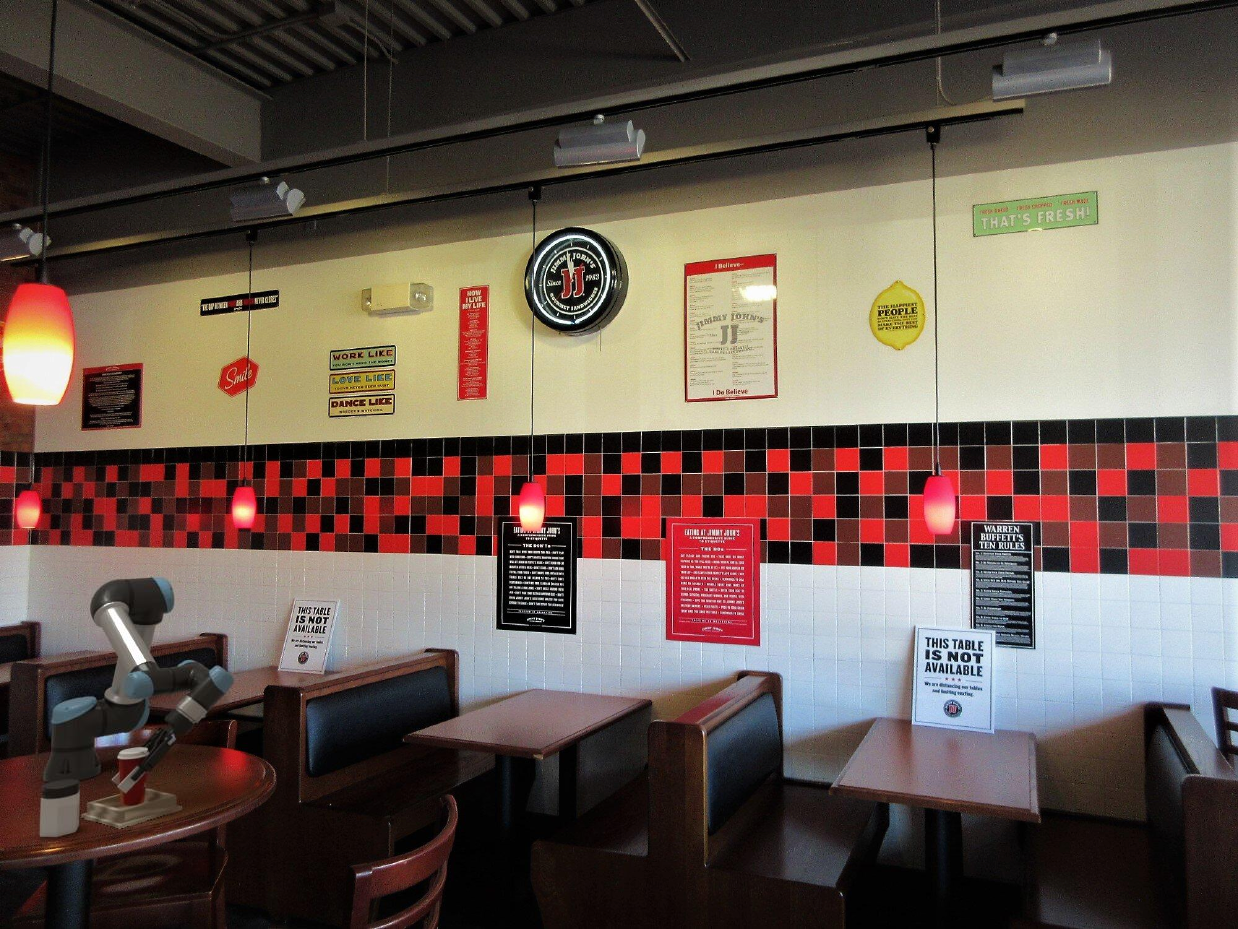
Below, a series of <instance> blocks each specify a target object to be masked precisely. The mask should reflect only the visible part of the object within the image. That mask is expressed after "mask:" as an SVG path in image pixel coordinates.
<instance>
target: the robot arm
mask: <svg viewBox="0 0 1238 929" xmlns="http://www.w3.org/2000/svg"><path fill="white" fill-rule="evenodd" d="M89 606H90V607H89V612H90V616H91V619H92V621H93V622H94V625H96V626H97V627H99V628H101V629H102V631H103V632H104V634H105V636H106V637H107V640H108V642H109V643H110V645H111V647H112V648H113V651H114V652H115V654H116V656H117V662H116V665H115V670H114V675H113V679H112V683H111V687H109V688H107V689H106V690H105V691H104V696H103V698H102V699H99V700H97V698H96V697H95V696H83V697H75V698H72V699H68V700H64V701H63V702H60V703H58V704H57V705H56V706H55V707H54V708H53V709H52V717H51V721H50V723H51V739H50V740H51V747H50V750H51V751H50V756H49V758H48V761H47V763H46V767H45V769H44V771H43V781H44V782H46V783H50V782H54V781H59V780H68V779H74V780H78V781H79V782H80V781H83V780H87V779H91V778H94V777H97V776H98V775H99V774H101V770H102V768H101V766H102V765H101V762H100V759H99V756H98V754H97V751H96V739H97V738H102V737H108V736H115V735H119V734H123V733H124V734H127V733H131V732H133V731H138V730H140V729H142V727H144V725H145V724H146V723H147V721H148V718H149V714H150V710H151V709H150V700H149V698H155V697H161V696H167V695H174V694H179V693H186V692H189V693H188V694H186V695H185V696H184V697H183V699H181V701H179V702H178V703H177V704H176V706H175V707H176V709H175V708H174V709H172V710H171V711H169V713H168V714H167V715H166V716H165V717H164V721H165V722H166V723H168V724H167V725H166V726H164V727H161V726H160V727H158V728H157V729H156V731H155V732H154V733H152V734H151V736H149V737H148V738H147V739H146V740H145V742H143V743H142V745H140V746H139V747H144V748H148V752H149V754H148V755H147V756H146V758H145V759H144V760H143V762H142V763H141V764H140V763H138V764H137V767H136V768H135V769H134V770H133V771H132V772H131V773H130V774H129V775H128V776H127V777H126V778H125V779H124V780H123V781H122V782H121V783H120V779H119V772H118V773H117V774H116V775H115V776H113V777H112V779H111V781H112V782H113V783H114V784H116V785H117V788H118V790H120V789H121V790H122V791H123V792H125V793H127V792H128V791H129V789H130V788H131V787H132V786H133V785H134V784H135V783H136V782H137V781H138V780H139V779H140V778H141V777H142V776H143V775H144V773H145V772H147V773H148V772H151V771H153V769H154V768H155V767H156V766H157V765H158V763H159V762H160V761H161V760H162V759H163V758H164V757H165V755H166V754H167V753H168V752H169V751H170V749H171V748H172V747H174V745H175V744H177V743H178V741H179V739H177V737H178V736H179V734H182V736H186V735H188V733H189V734H190V731H191V730H192V729H193V728H195V723H197V724H198V723H199V722H200V721H201V719H204V718H206V715H207V713H208V712H209V711H210V710H211V709H212V708H213V707H214V706H215V705H216V704H217V703H218V702H219V701H220V700H221V699H222V698H223V697H224V695H226V694H227V693H228V691H229V690H230V689H231V688H232V687H233V685H234V684H235V682H236V681H235V678H234V676H232V675H231V673H229V672H228V671H227V670H226V669H224V668H223V667H222V666H220V665H215V666H214V667H212V668H211V669H209V668H208V667H205V665H203V664H202V663H200V662H198V661H195V660H192V659H187V660H184V661H182V662H180V663H179V664H178V665H177V666H172V667H163V668H160V667H159V665H158V664H157V662H156V661H155V659H154V657H153V656H152V654H151V648H152V644H153V640H154V635H155V630H156V626H157V625H159V624H161V623H162V622H163V620H164V614H169V613H171V612H172V611H173V609H174V607H175V593H174V590H173V586H172V584H171V582H170V581H169V580H168V579H167V578H165V577H153V576H150V577H141V578H139V577H138V578H120V579H119V578H118V579H113V580H110V581H107V582H106V583H104V584H102V585H100V587H99V588H98V589H97V590H96V591H95V592H94V594H93V595H92V597H91V601H90V604H89ZM139 767H140V768H139Z"/></svg>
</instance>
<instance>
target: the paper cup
mask: <svg viewBox="0 0 1238 929" xmlns="http://www.w3.org/2000/svg"><path fill="white" fill-rule="evenodd" d="M148 754H149V752H148V748H144V747H140V746H139V747H130V748H127V749H122V750H121V751H120V752H119V753H118V755H117V759H118V773H119V779H120V783H121V782H122V781H123V780H124V779H125V778H126V777H127V776H128V775H129V774H130V773H131V772H132V771H133V770H134V769H135V768H136V767H137V764H138V763H140V764H141V763H142V762H143V760H144V759H145V758H146V756H147V755H148ZM139 768H140V767H139ZM147 774H148V771H147V772H145V773H144V775H143V776H142V777H141V778H140V779H139V780H138V781H137V782H136V783H135V784H134V785H133V786H132V787H131V788H130V789H129V791H128V792H127V793H125V792H123V791H122V790H121V789H119V794H120V800H121V806H135V805H139V804H142V803H144V800H145V790H146V788H147V779H148V778H147V776H148V775H147Z"/></svg>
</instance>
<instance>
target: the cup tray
mask: <svg viewBox="0 0 1238 929" xmlns="http://www.w3.org/2000/svg"><path fill="white" fill-rule="evenodd" d="M177 796H178V795H176V794H173V793H172V794H171V793H169V792H164V791H160V790H156V789H153V788H152V789H151V788H148V787H146V790H145V800H144V803H142V804H139V805H135V806H121V800H120V793H118V794H115V795H111V796H108V797H104V798H100V799H95V800H93V801H90V802H87V804H86V807H87V808H86V811H87V812H85V813H82V814H81V815H80V816H81V817H80V818H81V819H82V818H84V819H83V820H85V821H89V820H90V822H92V821H93V822H94V823H96V822H98V823H97V824H99V823H102V824H101V825H103V824H105V825H104V826H106V825H109V826H108V827H110V826H113V827H115V828H114V829H116V828H118V830H122V829H121V828H123V829H126V828H128V827H127V826H129V827H132V826H135V825H139V824H141V822H142V823H146V822H148V821H147V820H149V821H151V820H150V819H152V820H154V819H153V818H155V819H157V818H156V817H159V818H161V817H160V816H162V817H164V816H163V815H165V816H167V814H168V815H170V814H169V813H172V814H174V813H177V812H181V811H182V810H183V806H181V805H178V804H177V801H178V798H177ZM138 823H139V824H138ZM113 827H112V828H113ZM125 827H126V828H125Z"/></svg>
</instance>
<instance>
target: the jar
mask: <svg viewBox="0 0 1238 929" xmlns="http://www.w3.org/2000/svg"><path fill="white" fill-rule="evenodd" d="M40 795H41V798H40V812H39V813H40V816H39V837H40V838H58V837H63V836H67V835H71V834H74V833H76V832H77V831H78V828H79V827H80V825H79V824H80V799H81V798H80V797H81V796H80V795H81V790H80V780H79V781H78V780H74V779H68V780H59V781H54V782H50V783H49V782H46V783H45V784H43V785H42V786H41V794H40Z"/></svg>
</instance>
